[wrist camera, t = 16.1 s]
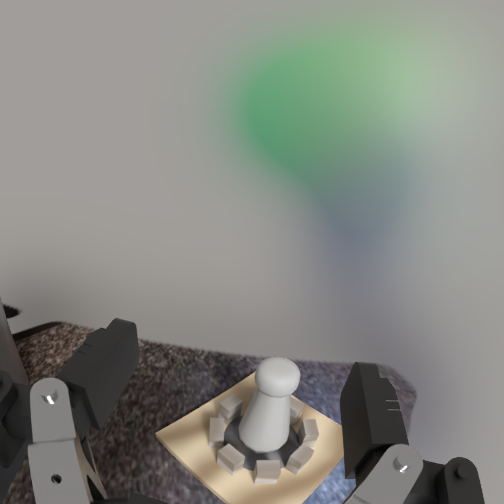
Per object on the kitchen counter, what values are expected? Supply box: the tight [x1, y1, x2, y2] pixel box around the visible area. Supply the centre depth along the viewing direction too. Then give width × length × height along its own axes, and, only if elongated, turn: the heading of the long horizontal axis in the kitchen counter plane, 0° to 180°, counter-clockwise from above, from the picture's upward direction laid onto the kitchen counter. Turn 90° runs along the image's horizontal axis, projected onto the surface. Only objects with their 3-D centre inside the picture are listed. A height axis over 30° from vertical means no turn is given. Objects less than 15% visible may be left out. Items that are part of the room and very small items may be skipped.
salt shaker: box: [238, 356, 300, 454], centre depth 31 cm, size 6×6×13 cm
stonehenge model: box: [155, 372, 344, 504], centre depth 33 cm, size 18×18×4 cm
